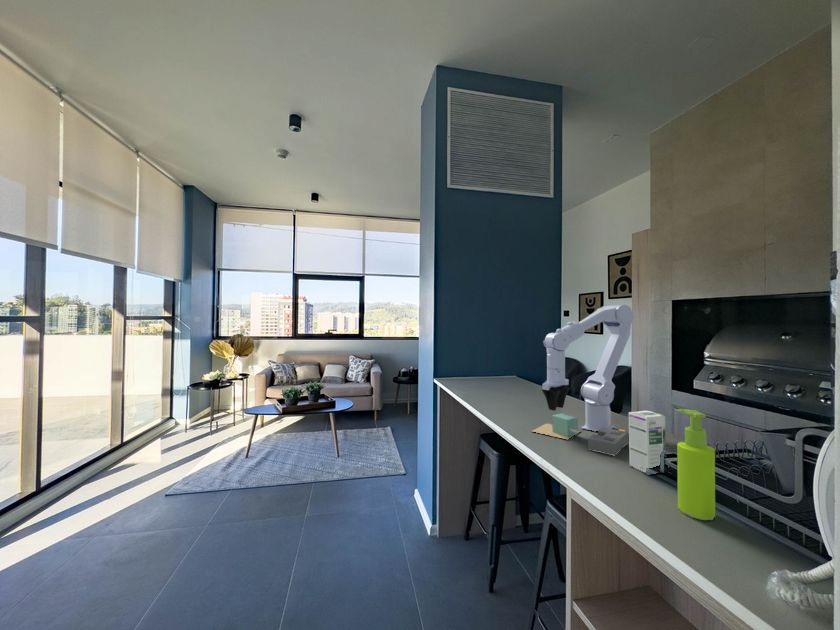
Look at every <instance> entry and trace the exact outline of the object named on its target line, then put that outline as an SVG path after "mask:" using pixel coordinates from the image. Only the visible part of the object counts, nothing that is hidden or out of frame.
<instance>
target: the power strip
mask: <svg viewBox="0 0 840 630" xmlns="http://www.w3.org/2000/svg"><path fill="white" fill-rule="evenodd" d="M627 442H628V443H629V431H626V430H625V429H620V428H619V429H618V430H617V429H614V428H612V429H608V428H601V429H600V430H599V431H598V432H597V434H592V435H590V436H589V437H588V438H587V450H588V449H591V450H596V451H601V452H605V453H609V454H614V455H615V454H616V453H617V452H618V451H619V450H620V449H621V448H622V447H623V446H624V445H625V444H626V443H627Z"/></svg>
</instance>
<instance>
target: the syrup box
mask: <svg viewBox="0 0 840 630" xmlns="http://www.w3.org/2000/svg"><path fill="white" fill-rule="evenodd" d="M666 439H667V438H666V416H665V415H664V414H662V413H658V412H655V411H652V410H651V411H650V410H641V411H639V410H638V411H629V412H628V447H629V448H628V449H629V452H628V454H629V455H628V456H629V466H630V465H631V466H633V467H635V468H637V469H639V470H641V471H643V472H646V468H653V467H656V466H659V465H660V454H661V452H662V451H663V450H666V451H667V449H666V448H667V446H666V445H667V442H666V441H667V440H666ZM665 457H666V458H667V454H666V455H665Z"/></svg>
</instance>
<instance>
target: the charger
mask: <svg viewBox="0 0 840 630" xmlns="http://www.w3.org/2000/svg"><path fill="white" fill-rule="evenodd" d="M551 419H552V420H551V421H552V423H551V424H552V431H553V432H554V433H557V434H560V435H563V436H566V437H570V436H574V435H575V436H577V435H578V434H579V433H578V431H580V433H581V432H582V430H583V429H582V428H579V426H578V425H579V423H578V417H577V416H574V415H570V414H567V413H563V412H562V413H561V412H560V413H557V414H553V415H551ZM575 436H574V437H575Z"/></svg>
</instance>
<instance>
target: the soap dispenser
mask: <svg viewBox="0 0 840 630" xmlns="http://www.w3.org/2000/svg"><path fill="white" fill-rule="evenodd" d="M676 411H677V412H678V413H684V414H686V415H689V425H688V426H685V427H684V441H680V442H678V443H677V448H676V450H677V453H676V454H677V458H676V459H677V461H676V463H677V509H678V508H679V509H680V510H681V511H683V512H685V513H687V514H690V515H692V516H694V517H697V518H702V519H711V518H714V517H715V518H716V449H714V448H713V447H711V446H709V445H707V430H706V429H704V427H702V418H703V419H704V418H706V415H707V414H705V413H702V412H701V411H698V410H695V409H691V408H689V409H688V408H678V409H677V408H676Z"/></svg>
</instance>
